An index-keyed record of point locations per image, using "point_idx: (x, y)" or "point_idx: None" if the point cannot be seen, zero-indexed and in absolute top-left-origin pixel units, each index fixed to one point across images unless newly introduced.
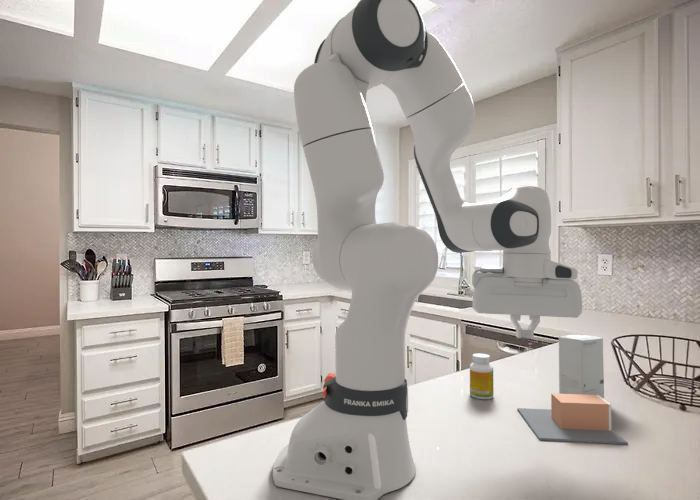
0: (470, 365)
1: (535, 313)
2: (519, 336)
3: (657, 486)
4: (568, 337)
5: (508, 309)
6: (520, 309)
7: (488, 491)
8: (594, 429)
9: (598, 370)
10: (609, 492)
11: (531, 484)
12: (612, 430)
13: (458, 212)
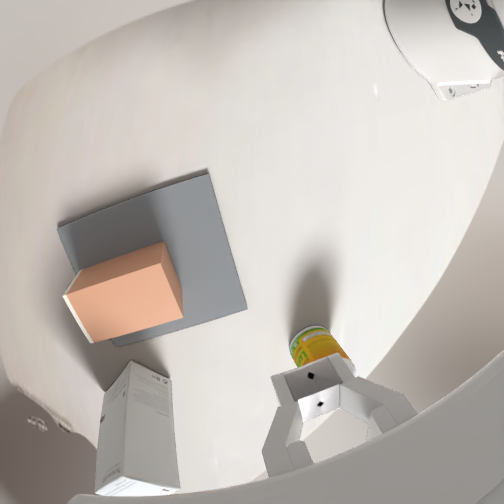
0: (355, 372)
1: (310, 476)
2: (335, 355)
3: (46, 86)
4: (157, 487)
5: (469, 407)
6: (414, 449)
7: None
8: (104, 261)
9: (103, 433)
10: (118, 31)
11: (234, 11)
12: (77, 272)
13: None
